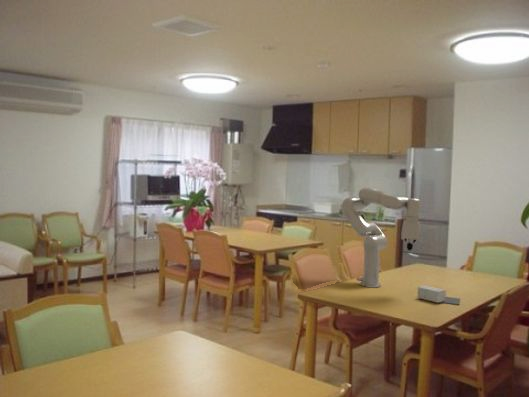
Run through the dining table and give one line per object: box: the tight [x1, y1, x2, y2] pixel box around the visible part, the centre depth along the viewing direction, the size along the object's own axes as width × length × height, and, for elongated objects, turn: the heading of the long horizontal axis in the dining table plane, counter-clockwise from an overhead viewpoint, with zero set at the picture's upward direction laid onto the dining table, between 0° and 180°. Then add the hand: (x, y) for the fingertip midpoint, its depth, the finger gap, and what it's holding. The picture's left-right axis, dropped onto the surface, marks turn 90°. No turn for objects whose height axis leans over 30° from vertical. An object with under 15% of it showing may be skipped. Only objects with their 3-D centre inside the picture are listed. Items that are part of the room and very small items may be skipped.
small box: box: [417, 285, 447, 303], centre depth 279 cm, size 8×6×13 cm
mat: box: [424, 296, 461, 306], centre depth 281 cm, size 18×14×1 cm
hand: (409, 250), depth 291 cm, fingers closed
